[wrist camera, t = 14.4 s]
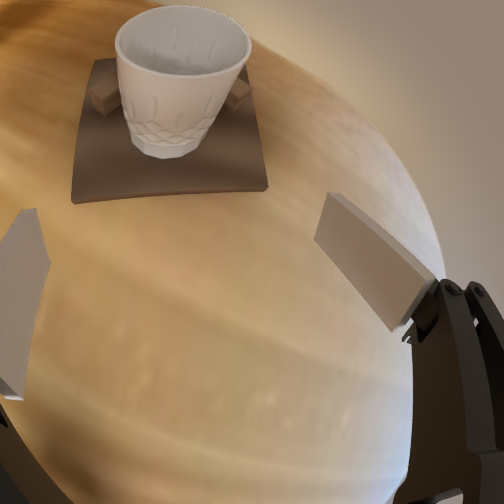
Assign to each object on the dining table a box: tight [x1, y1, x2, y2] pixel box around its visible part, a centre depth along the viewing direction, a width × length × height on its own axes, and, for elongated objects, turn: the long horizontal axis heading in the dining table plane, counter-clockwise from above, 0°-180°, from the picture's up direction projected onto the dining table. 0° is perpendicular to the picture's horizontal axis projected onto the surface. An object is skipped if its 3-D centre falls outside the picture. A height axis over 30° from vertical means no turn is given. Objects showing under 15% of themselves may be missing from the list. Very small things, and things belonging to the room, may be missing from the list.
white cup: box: [115, 5, 252, 159], centre depth 16 cm, size 8×8×10 cm
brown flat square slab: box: [71, 58, 268, 204], centre depth 20 cm, size 16×16×3 cm
